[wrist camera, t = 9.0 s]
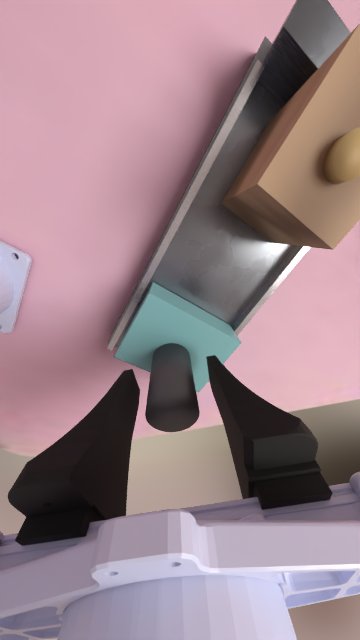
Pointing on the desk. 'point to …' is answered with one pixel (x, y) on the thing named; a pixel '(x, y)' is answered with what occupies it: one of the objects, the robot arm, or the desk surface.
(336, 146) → the wooden block with knob
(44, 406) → the desk surface
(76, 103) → the desk surface
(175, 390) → the ram
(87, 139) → the desk surface
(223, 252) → the tray
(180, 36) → the desk surface
